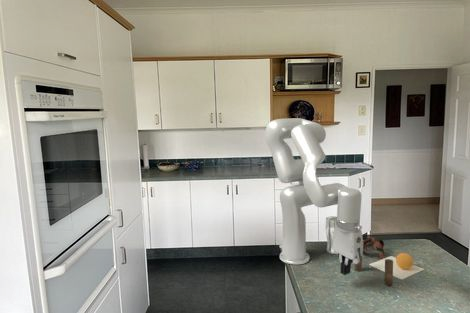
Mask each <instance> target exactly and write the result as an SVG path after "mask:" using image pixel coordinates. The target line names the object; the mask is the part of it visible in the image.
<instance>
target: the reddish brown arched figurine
mask: <svg viewBox="0 0 470 313" xmlns="http://www.w3.org/2000/svg"><path fill="white" fill-rule="evenodd" d="M375 247H376V250H377V251H378V252H380V253H379V254H378V256H379V258H380V260H382V259H384V258H386V254H385V251H384V247H385V241H384V240H383V238H377V239H375V237H368V238H366V239H363V253H364V252H365V253H368V249H369V250H372V251H375Z"/></svg>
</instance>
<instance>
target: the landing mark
mask: <svg viewBox="0 0 470 313" xmlns="http://www.w3.org/2000/svg"><path fill="white" fill-rule="evenodd" d="M386 259H390V260H393V277H395V278H397V279H399V280H405V279H406V278H409V277H411V276H413V275H416V274H418V273H420V272H423V271H424V270H425V269H424V268H422V267H419V266H417V265H414V264H413V266H412V267H411V268H409V269H403V268H401V267H399V266H398V264H397V262H396V257H395V256H392V255H390V256H387V257H384V258H383V259H379V260H377V261H375V262H372V263H369V264H368V265H369V266H371V267H373V268H375V269H377V270H380V271H381V272H384V273H385V260H386Z"/></svg>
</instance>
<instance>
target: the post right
mask: <svg viewBox="0 0 470 313" xmlns="http://www.w3.org/2000/svg"><path fill="white" fill-rule="evenodd" d="M393 279H394V276H393V260H390V259H386V260H385V272H384V280H383V281H384V286H386V287H389V288H391V287H393Z"/></svg>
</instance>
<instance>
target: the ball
mask: <svg viewBox="0 0 470 313" xmlns="http://www.w3.org/2000/svg"><path fill="white" fill-rule="evenodd" d="M395 258H396V262H397V264H398V266H399V267H401V268H403V269H409V268H411V267H412V266H413V265H414V258H413V257H412V256H411V255H410V254H409V253H406V252H401V253H398V254H397V255H396V257H395Z"/></svg>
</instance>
